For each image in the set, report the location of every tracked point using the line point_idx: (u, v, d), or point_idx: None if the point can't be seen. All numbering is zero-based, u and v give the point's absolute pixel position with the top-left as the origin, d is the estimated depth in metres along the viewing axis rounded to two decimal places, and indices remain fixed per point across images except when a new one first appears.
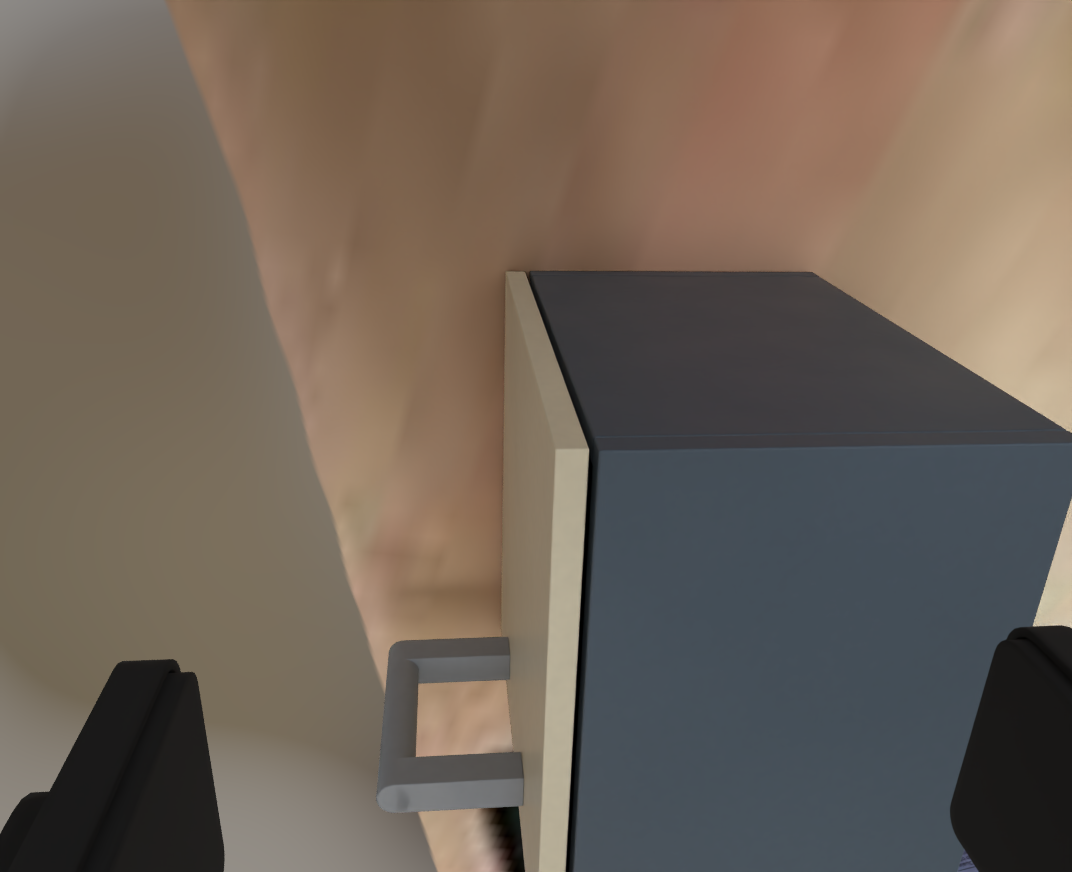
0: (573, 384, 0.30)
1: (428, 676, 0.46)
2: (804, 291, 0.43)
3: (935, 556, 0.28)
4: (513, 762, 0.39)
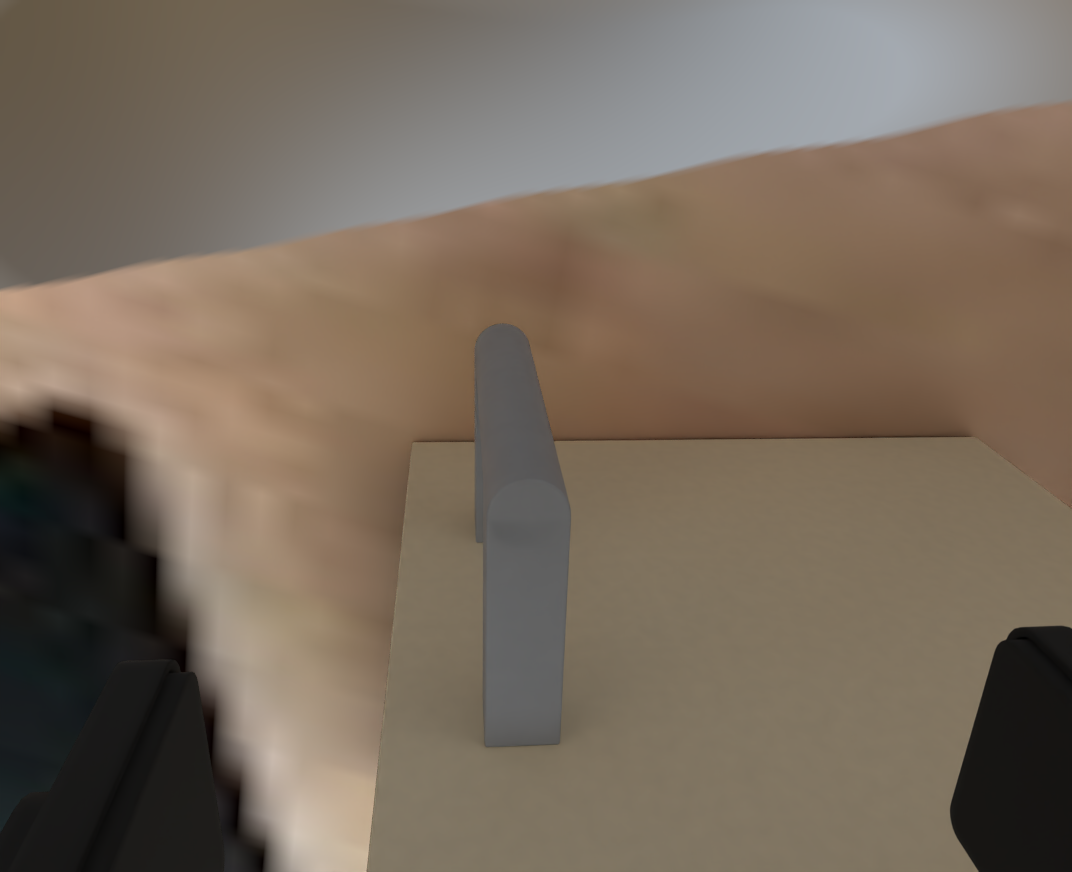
0: None
1: None
2: None
3: None
4: None
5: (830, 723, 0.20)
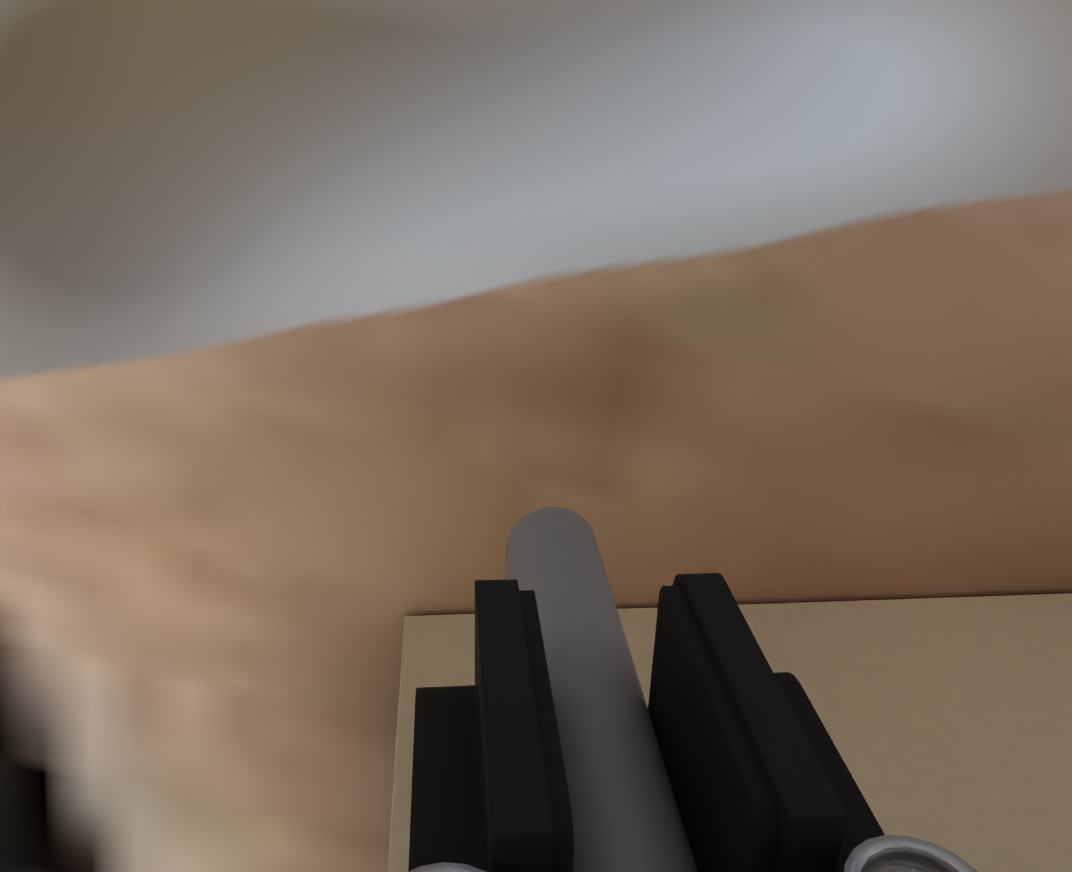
0: None
1: None
2: None
3: None
4: None
5: None
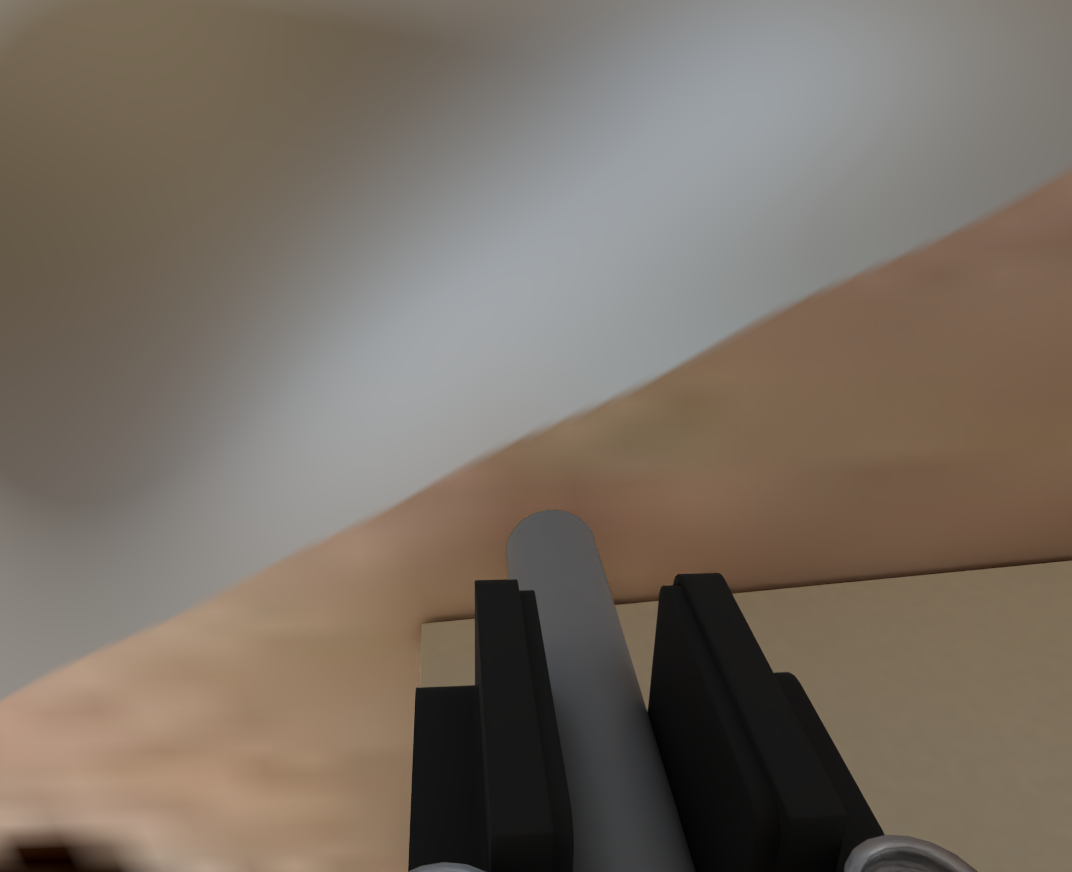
0: None
1: None
2: None
3: None
4: None
5: None
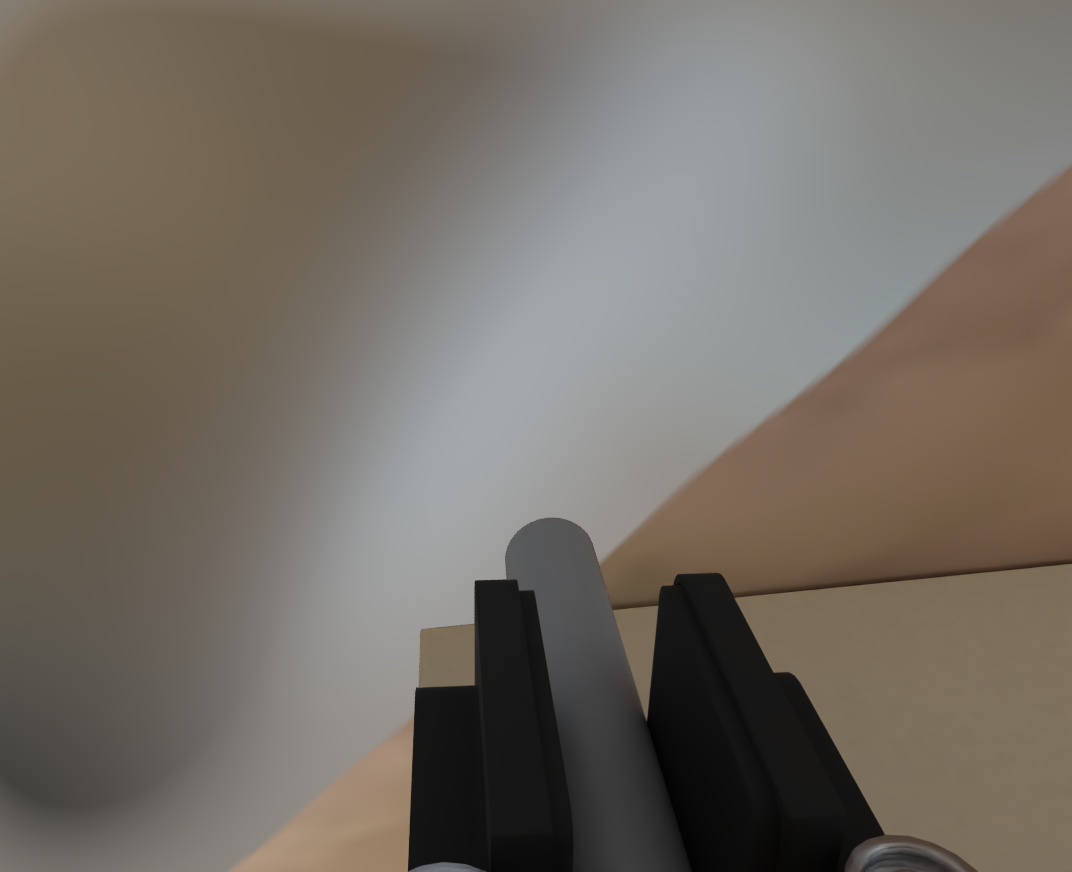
0: None
1: None
2: None
3: None
4: None
5: None
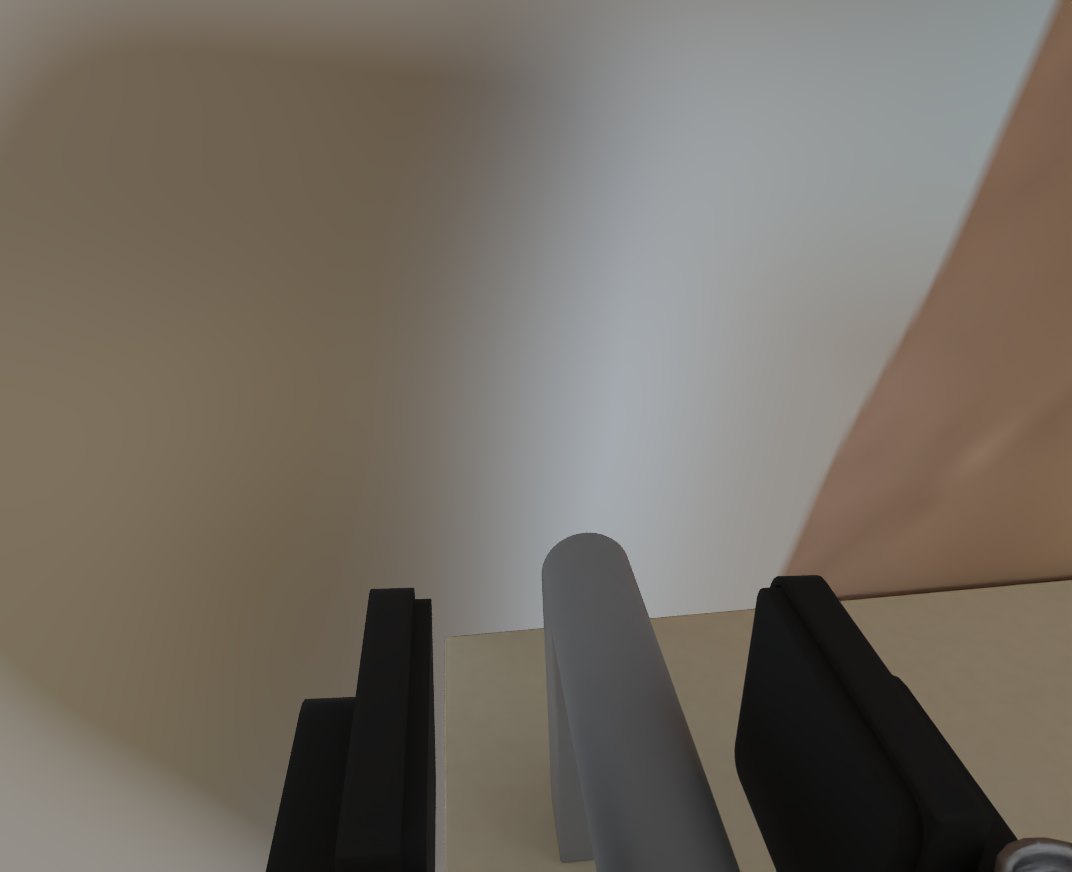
0: None
1: None
2: None
3: None
4: None
5: None
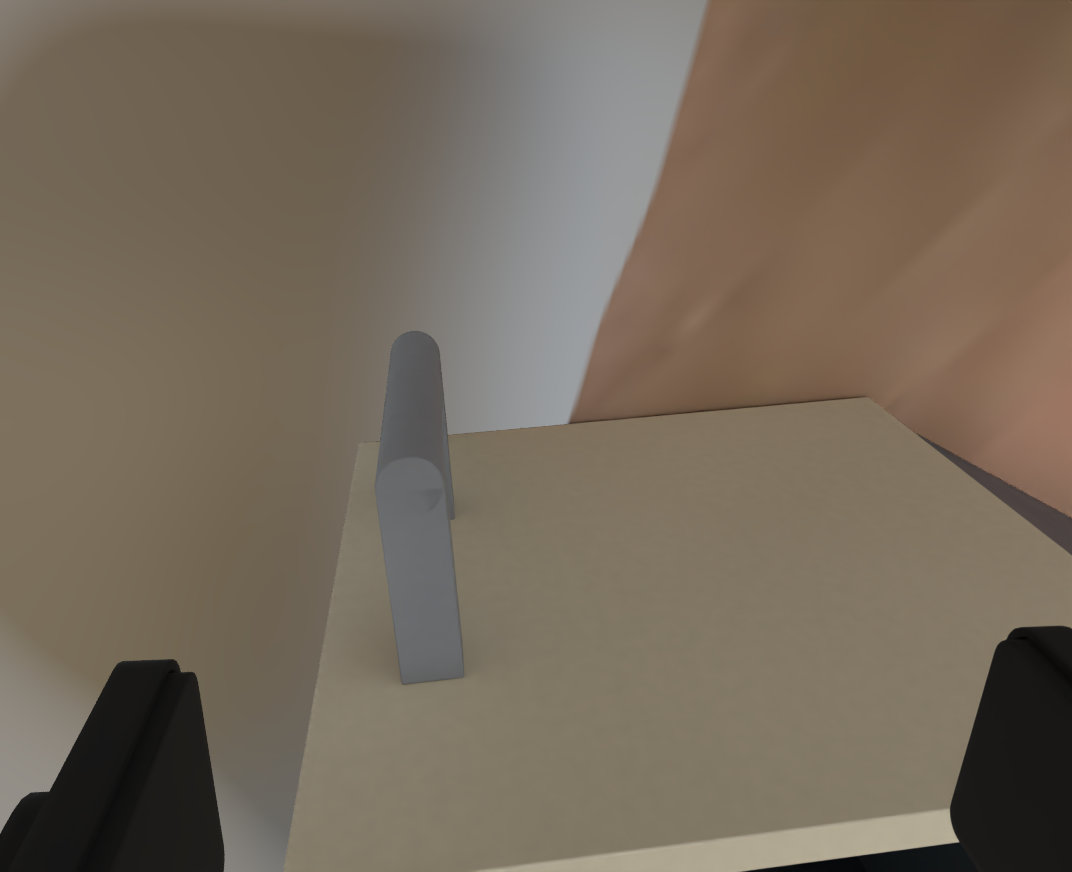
0: None
1: None
2: None
3: None
4: None
5: (693, 644, 0.23)
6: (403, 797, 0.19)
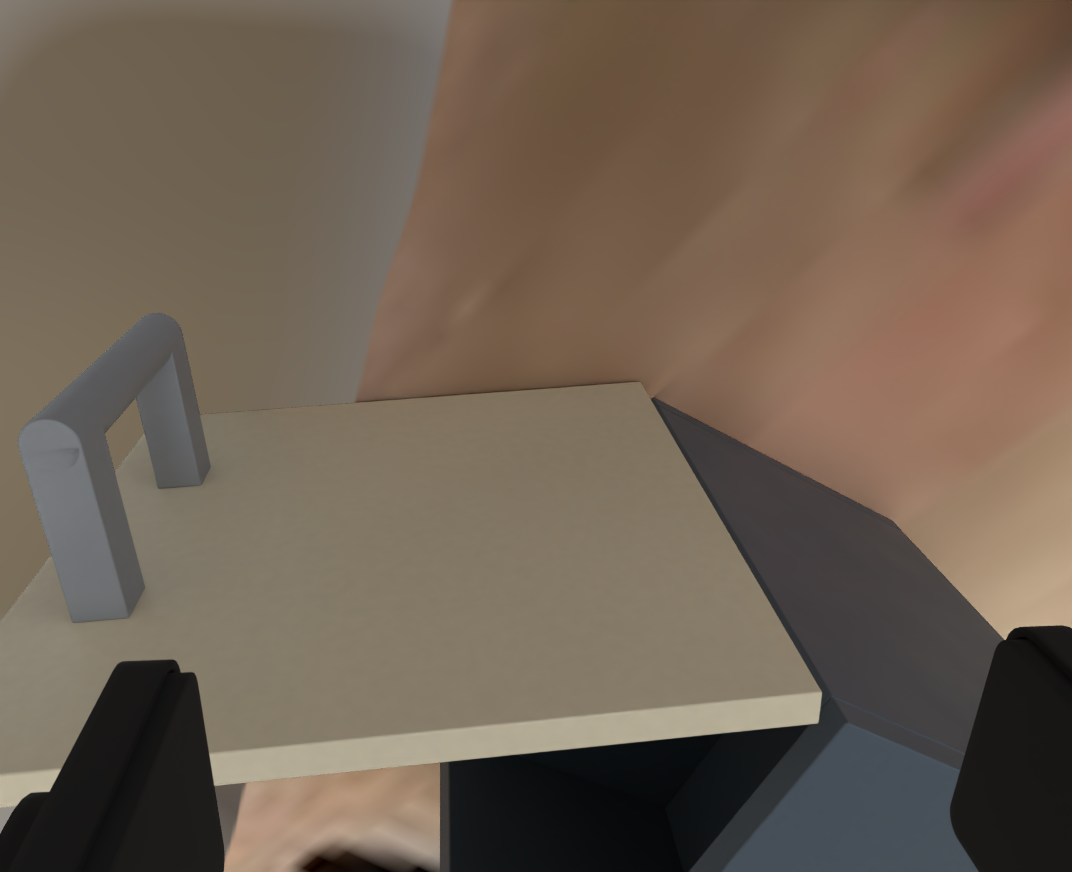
0: (770, 596, 0.27)
1: None
2: (901, 547, 0.42)
3: None
4: (136, 588, 0.26)
5: (342, 592, 0.26)
6: (20, 712, 0.22)
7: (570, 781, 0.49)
